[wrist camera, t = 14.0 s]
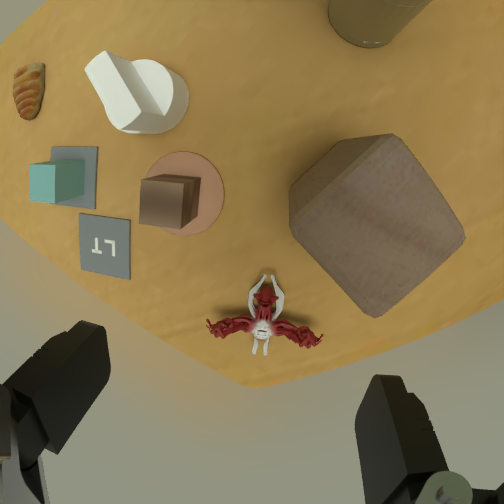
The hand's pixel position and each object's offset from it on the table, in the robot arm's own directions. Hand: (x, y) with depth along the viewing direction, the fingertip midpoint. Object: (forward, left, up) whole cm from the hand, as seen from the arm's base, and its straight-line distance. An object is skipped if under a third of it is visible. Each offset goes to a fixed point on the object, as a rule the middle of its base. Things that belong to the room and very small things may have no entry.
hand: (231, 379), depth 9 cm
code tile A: (+10, -24, -33) cm, 42 cm away
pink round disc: (+1, -12, -33) cm, 35 cm away
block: (-2, +8, -33) cm, 34 cm away
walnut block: (+1, -12, -32) cm, 35 cm away
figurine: (+15, +1, -33) cm, 37 cm away
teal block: (0, -30, -33) cm, 44 cm away
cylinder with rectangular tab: (-11, -17, -33) cm, 39 cm away
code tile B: (0, -30, -33) cm, 45 cm away
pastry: (-14, -41, -34) cm, 55 cm away
